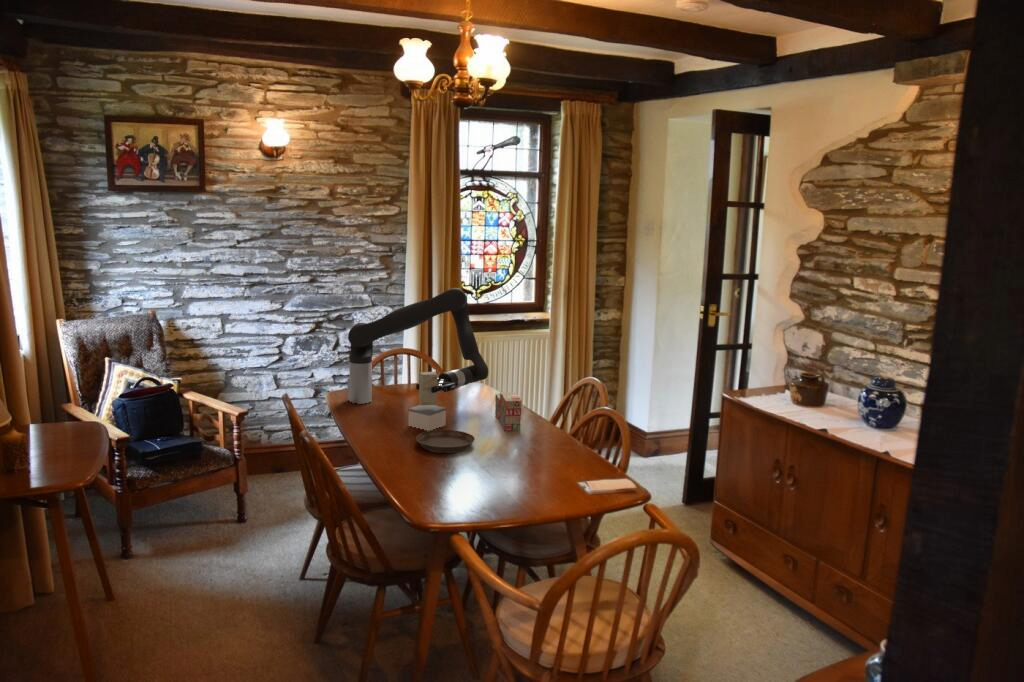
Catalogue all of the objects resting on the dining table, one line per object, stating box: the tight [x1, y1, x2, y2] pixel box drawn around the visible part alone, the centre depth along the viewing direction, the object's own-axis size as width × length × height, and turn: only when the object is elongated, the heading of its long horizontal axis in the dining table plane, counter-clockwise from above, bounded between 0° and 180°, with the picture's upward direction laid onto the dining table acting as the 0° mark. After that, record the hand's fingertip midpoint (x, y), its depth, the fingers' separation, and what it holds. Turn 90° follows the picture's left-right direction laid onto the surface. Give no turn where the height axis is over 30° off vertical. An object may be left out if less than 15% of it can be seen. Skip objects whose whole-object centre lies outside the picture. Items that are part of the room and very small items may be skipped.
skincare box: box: [418, 371, 439, 406], centre depth 295 cm, size 6×4×12 cm
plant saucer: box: [415, 429, 476, 454], centre depth 275 cm, size 21×21×3 cm
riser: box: [408, 404, 447, 432], centre depth 297 cm, size 10×10×7 cm
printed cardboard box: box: [494, 391, 523, 432], centre depth 304 cm, size 21×6×12 cm, turn 11°
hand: (424, 388), depth 293 cm, fingers closed on skincare box, 7 cm apart
